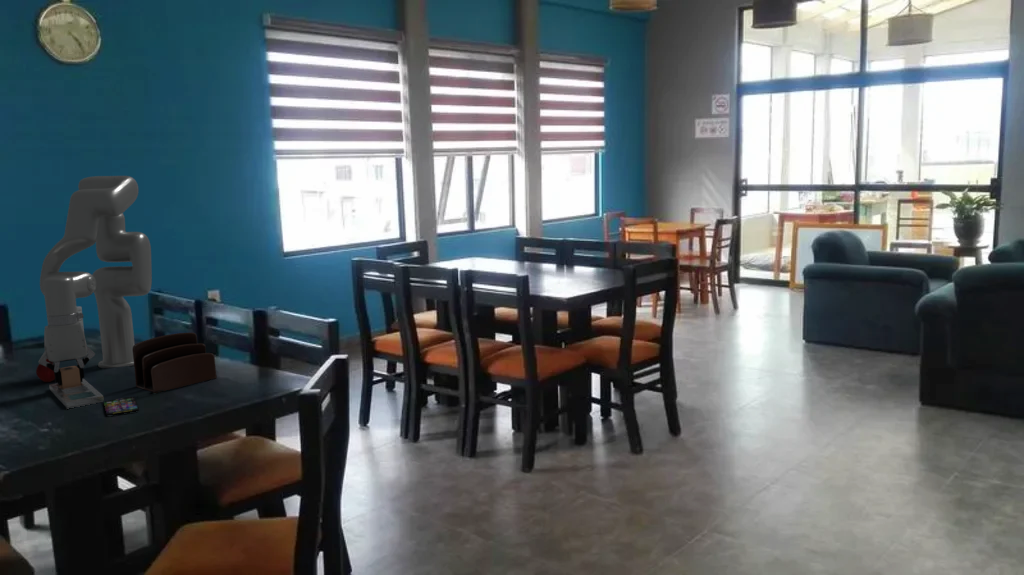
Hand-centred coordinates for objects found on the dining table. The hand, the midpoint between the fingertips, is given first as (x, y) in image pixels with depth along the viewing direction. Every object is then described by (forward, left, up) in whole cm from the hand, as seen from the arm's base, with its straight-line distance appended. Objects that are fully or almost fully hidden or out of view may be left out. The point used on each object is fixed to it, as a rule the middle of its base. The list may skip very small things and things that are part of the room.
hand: (70, 382), depth 235 cm
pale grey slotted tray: (0, +8, -3) cm, 8 cm away
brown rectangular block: (0, 0, -2) cm, 2 cm away
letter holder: (-25, +13, -3) cm, 29 cm away
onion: (+3, -15, -3) cm, 15 cm away
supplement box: (-14, -77, -3) cm, 78 cm away
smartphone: (-7, +27, -3) cm, 28 cm away
